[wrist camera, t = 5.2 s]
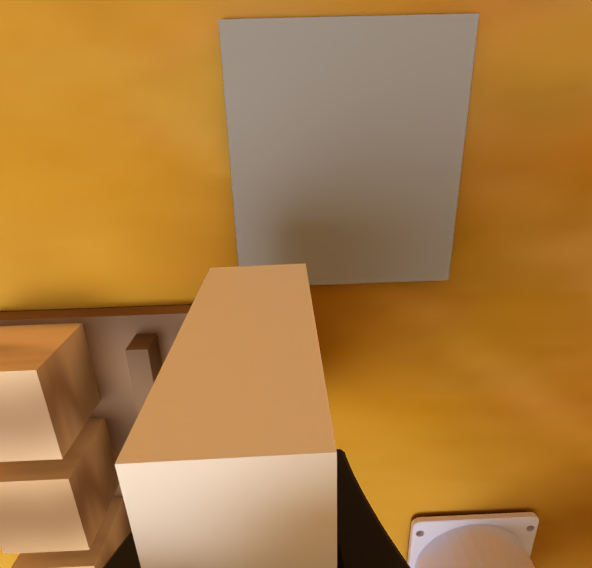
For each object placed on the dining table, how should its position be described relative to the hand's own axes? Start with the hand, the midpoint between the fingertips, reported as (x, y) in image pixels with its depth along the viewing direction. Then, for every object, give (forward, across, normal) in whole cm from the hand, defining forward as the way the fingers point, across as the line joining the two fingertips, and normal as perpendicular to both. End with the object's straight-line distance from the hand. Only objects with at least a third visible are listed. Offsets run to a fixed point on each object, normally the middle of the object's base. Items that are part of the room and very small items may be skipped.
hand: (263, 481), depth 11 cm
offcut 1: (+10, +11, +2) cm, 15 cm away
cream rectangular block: (+4, 0, 0) cm, 4 cm away
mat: (+10, -4, -7) cm, 13 cm away
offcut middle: (+10, +11, +7) cm, 16 cm away
